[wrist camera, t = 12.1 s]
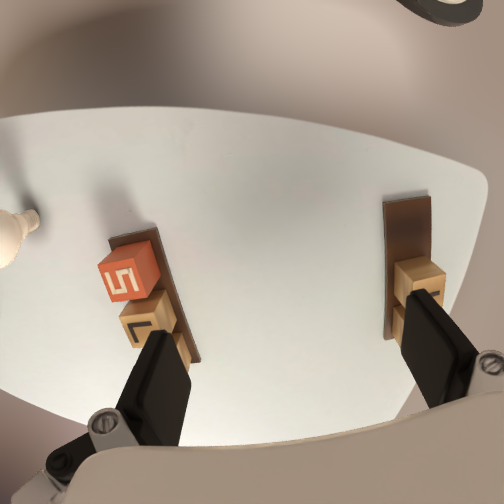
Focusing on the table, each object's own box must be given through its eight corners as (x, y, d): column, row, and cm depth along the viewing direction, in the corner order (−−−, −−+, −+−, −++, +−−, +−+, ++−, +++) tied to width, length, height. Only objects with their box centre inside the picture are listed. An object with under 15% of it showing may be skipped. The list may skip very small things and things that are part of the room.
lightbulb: (48, 190, 30) (-14, 215, 19) (57, 241, 32) (2, 279, 22) (15, 196, 30) (-44, 221, 20) (24, 243, 32) (-29, 278, 22)
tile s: (116, 246, 32) (96, 265, 27) (150, 239, 31) (133, 258, 27) (128, 280, 33) (111, 303, 28) (161, 275, 33) (147, 298, 28)
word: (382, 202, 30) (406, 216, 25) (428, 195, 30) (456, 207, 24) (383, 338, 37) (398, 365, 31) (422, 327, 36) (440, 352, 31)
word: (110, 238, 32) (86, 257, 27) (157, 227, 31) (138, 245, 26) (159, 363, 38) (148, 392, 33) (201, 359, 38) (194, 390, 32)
